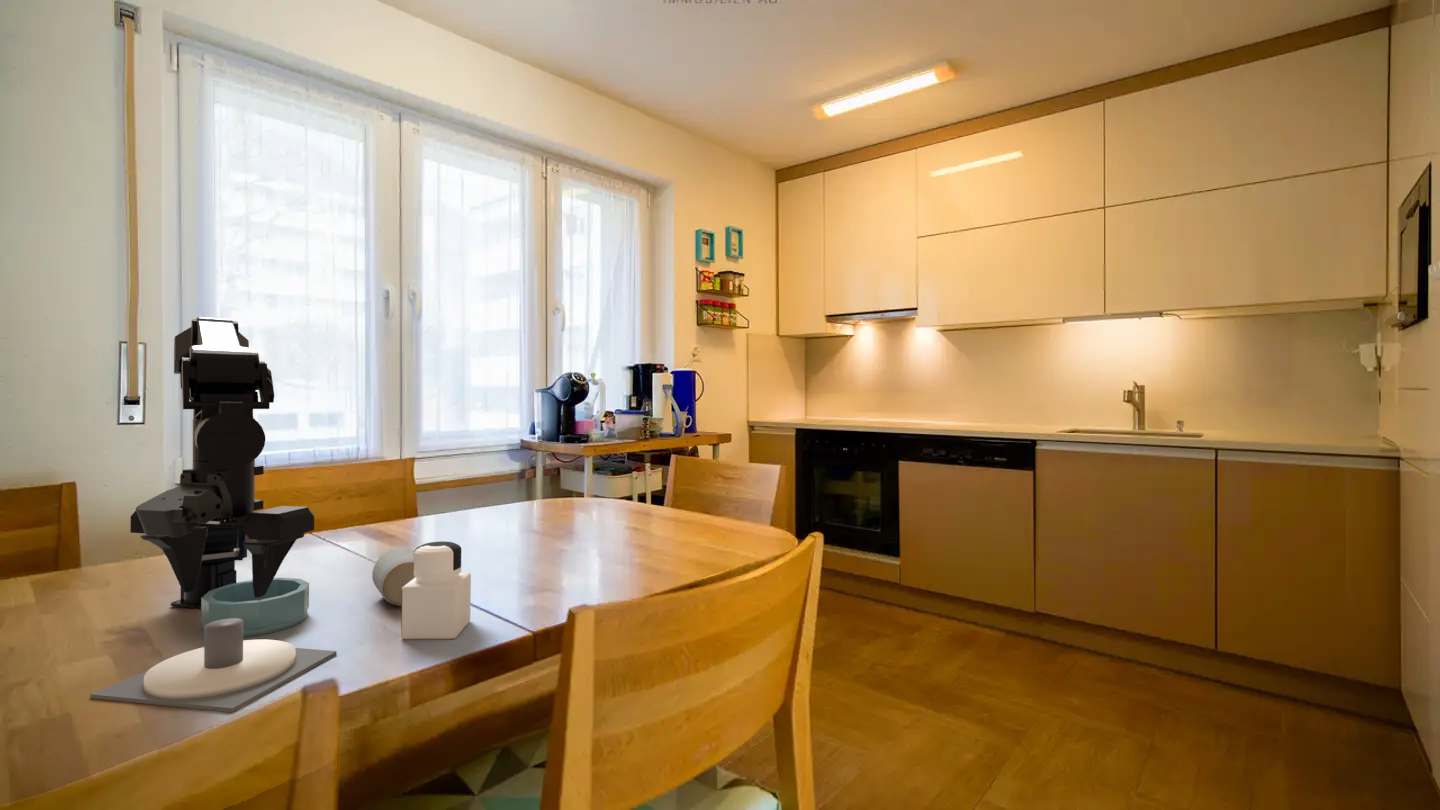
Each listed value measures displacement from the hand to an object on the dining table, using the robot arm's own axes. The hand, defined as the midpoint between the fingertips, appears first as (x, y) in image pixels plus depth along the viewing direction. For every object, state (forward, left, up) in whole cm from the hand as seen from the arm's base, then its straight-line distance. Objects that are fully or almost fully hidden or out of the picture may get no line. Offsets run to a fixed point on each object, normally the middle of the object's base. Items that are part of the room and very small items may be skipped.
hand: (224, 594), depth 76 cm
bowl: (-10, +16, -9) cm, 21 cm away
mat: (0, 0, -9) cm, 9 cm away
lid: (0, 0, -9) cm, 9 cm away
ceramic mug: (+5, +29, -10) cm, 31 cm away
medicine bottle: (+16, +18, -10) cm, 26 cm away
